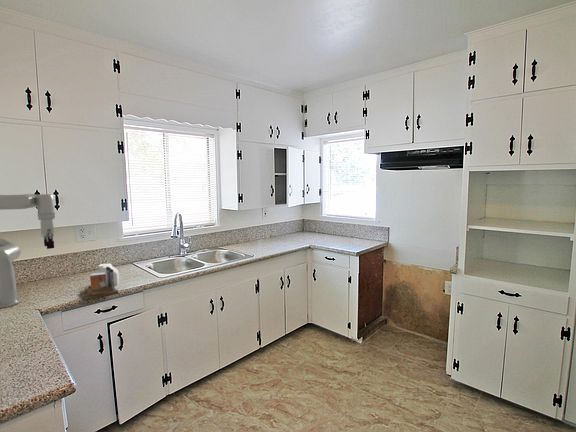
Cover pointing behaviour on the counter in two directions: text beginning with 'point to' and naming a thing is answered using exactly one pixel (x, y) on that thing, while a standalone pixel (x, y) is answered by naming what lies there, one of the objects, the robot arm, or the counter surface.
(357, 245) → the counter surface
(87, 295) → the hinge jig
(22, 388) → the counter surface
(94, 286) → the small box
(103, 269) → the corner bracket
